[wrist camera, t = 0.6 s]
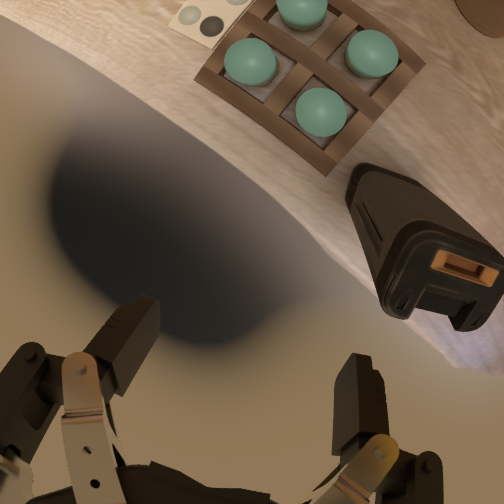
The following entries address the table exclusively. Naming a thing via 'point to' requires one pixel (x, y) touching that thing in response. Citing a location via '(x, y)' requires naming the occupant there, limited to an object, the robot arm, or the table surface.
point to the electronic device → (422, 250)
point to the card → (208, 19)
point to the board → (302, 72)
